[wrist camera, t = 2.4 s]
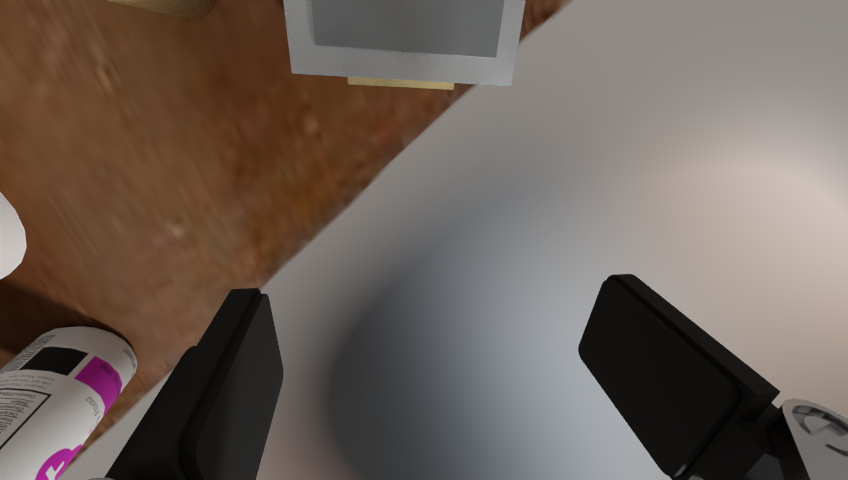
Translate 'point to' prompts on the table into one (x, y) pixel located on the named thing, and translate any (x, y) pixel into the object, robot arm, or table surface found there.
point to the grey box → (405, 41)
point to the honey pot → (10, 238)
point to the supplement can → (58, 398)
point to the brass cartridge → (174, 7)
